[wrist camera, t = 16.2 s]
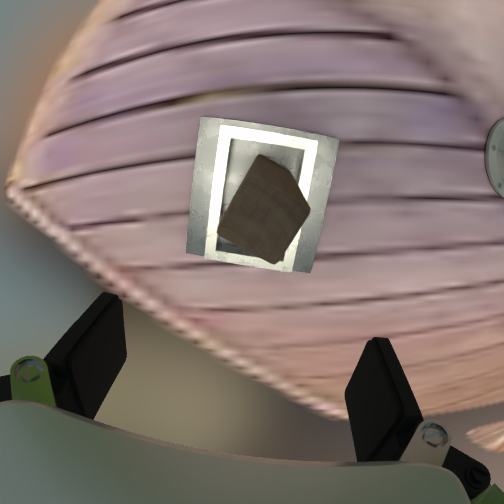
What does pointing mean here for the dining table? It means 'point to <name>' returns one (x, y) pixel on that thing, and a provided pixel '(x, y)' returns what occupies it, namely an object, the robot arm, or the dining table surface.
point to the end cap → (233, 172)
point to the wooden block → (265, 211)
